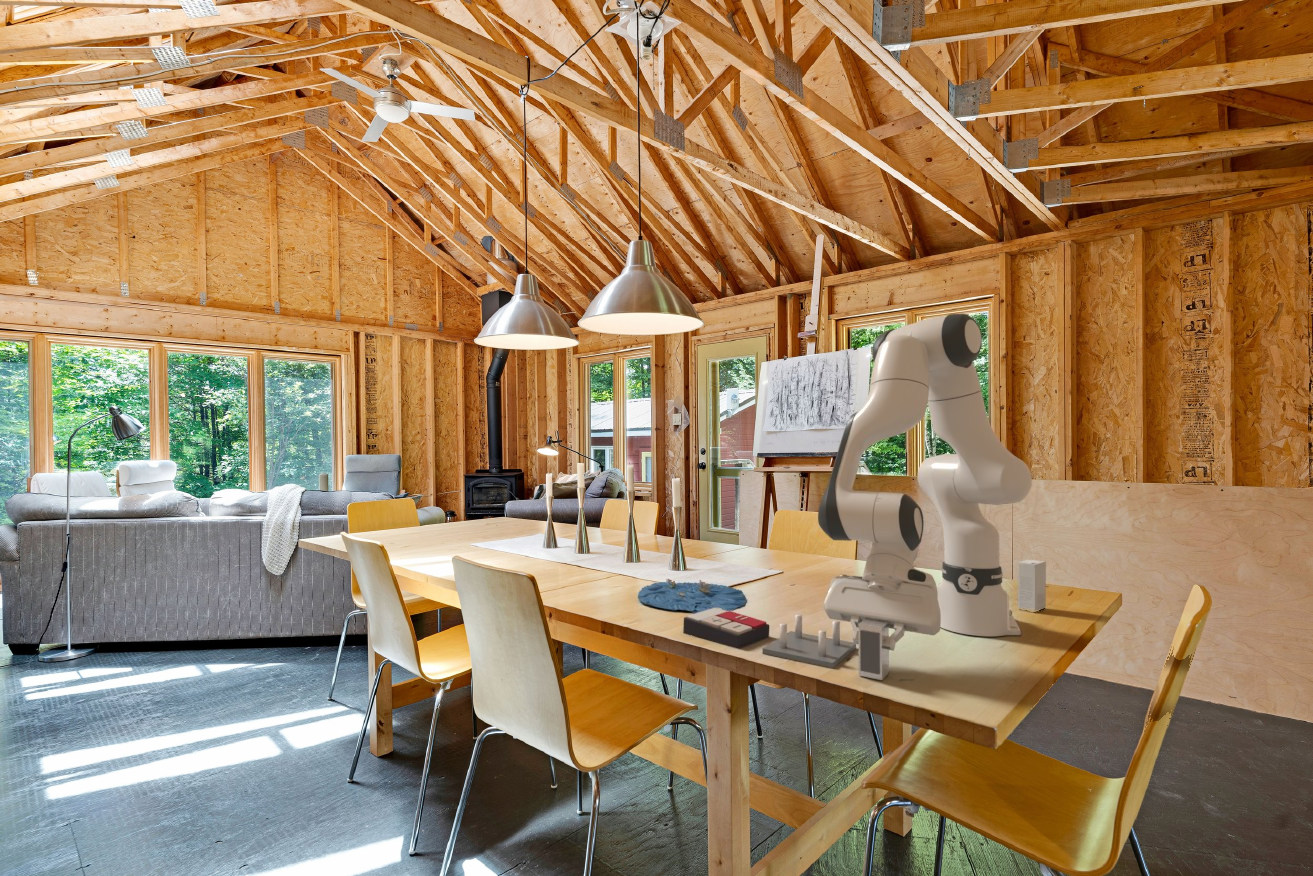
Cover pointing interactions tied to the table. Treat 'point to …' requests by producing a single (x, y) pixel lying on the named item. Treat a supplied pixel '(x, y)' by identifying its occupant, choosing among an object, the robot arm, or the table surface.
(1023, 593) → the skincare box
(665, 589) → the blue sea diorama
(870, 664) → the block
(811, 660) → the pin tray
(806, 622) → the table surface
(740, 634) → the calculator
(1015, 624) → the robot arm
